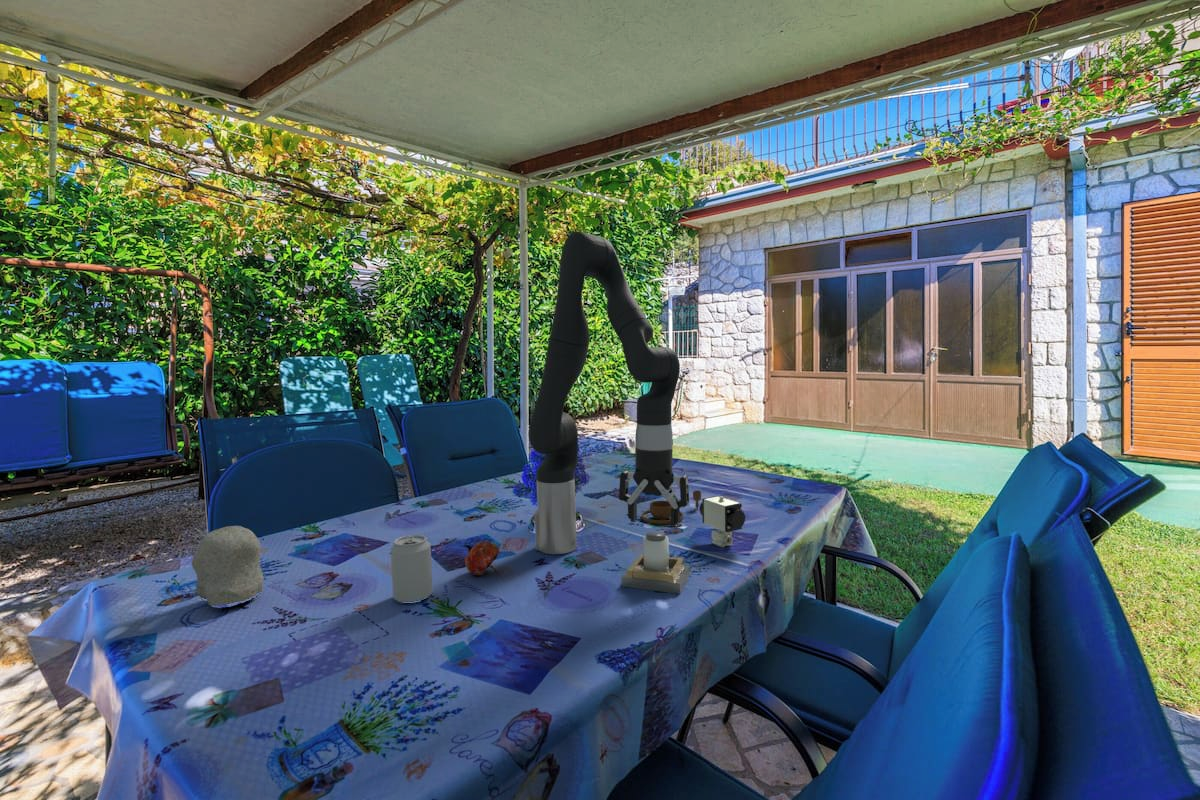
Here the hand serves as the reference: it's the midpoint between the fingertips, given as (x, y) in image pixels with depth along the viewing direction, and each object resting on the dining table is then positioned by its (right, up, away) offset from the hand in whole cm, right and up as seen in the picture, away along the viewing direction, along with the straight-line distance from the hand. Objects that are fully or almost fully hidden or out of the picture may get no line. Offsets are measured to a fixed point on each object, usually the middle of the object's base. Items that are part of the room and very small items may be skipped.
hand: (653, 523), depth 116 cm
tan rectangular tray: (+1, -12, +1) cm, 12 cm away
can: (-48, -14, -4) cm, 50 cm away
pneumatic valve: (+19, -10, +22) cm, 31 cm away
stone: (-85, -15, -5) cm, 86 cm away
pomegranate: (-36, -13, +7) cm, 39 cm away
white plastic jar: (+1, -10, +1) cm, 10 cm away
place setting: (+11, -9, +46) cm, 48 cm away
